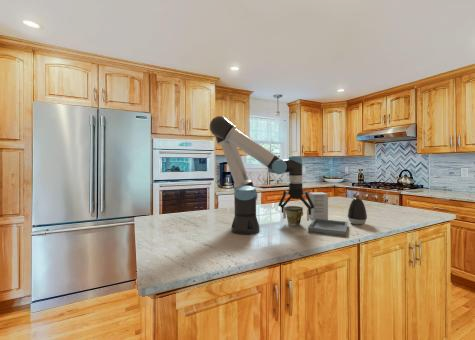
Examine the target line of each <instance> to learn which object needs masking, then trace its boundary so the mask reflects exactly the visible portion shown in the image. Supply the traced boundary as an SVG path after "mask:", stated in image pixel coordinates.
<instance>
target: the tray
mask: <svg viewBox="0 0 475 340" xmlns="http://www.w3.org/2000/svg"><path fill="white" fill-rule="evenodd" d="M347 231H348V221H345V220H344V221H342V220H333V219H328V220H323V219H314V220H311V223H310V225H308V227H307V232H308V233H312V234H318V235H319V234H321V235H328V236H337V237H347Z"/></svg>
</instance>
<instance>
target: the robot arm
mask: <svg viewBox="0 0 475 340" xmlns="http://www.w3.org/2000/svg"><path fill="white" fill-rule="evenodd" d="M209 131H210V132H211V134H212V135H213V136H214V137H215V140H216V142H217V145H218V146H221V149H222V152H223V155H224V158H225V160H226V163H227V166H228V168H229V171H230V174H231V177H232V180H233V182H234V186H233V189H234V192H233V196H234V198H233V199H234V216H233V220H232V223H231V229H230V230H231V232H232V233H235V234H239V235H252V234H257V233H259V232H260V231H261V230H260V229H261V228H260V224H259V221H258V217H257V201H258V192H257V188H256V187H255V186H254V183H253V180H251V179H249V176H248V174H247V171H246V169H245V168H246V167H245V166H244V162H243V160H242V157H241V154H240V152H239V149H240V150H241V151H243V152H245V153H246V154H247V155H248V156H250V157H252V158H253V159H254V160H256V161H258V162H259V163H260V164H262V165H264V166H265V167H266V168H267V171H268V173H269V174H276V175H282V174H284V173H286V174H287V173H288V191H287V190H283V193H282V194H283V195H282V197H281V199H280V201H279V203H278V207H280V208H281V213H282V215H283V217H282V218H283V220H285V219H286V218H287V214H286V209H285V207H286V205H287V204H288V203H289V201H291V199H292V200H300V201H301V202H302V203H303V204H304V206H305V207H306V208H307V209H306V220H307V221H308V222H309V221H310V218H309V215H311V209H312V208H314V205H313V203H312V201H311V199H310V197H309V191H308V190H307V191H303V157H302V156H300V155H290V156H288V159H281V158H280V157H279V156H277V155H275V154H274V153H273V152H271V151H269V150H268V149H266V148H265V147H263V146H262V145H261V144H259V143H258V142H257V141H255V140H253V139H252V138H250V137H249V136H247V135H246V134H244V132H241V131H240V130H238V129H237V126H236V125H234V124H233V123H232V122H231V121H230V120H229V119H227V118H226V117H225V116H222V115H217V116H215V117H213V118H212V119H211V120H210V123H209ZM287 195H289V196H288V198H287V199H286V196H287ZM303 195H304V196H305V197H306V199H305V198H304V196H303ZM307 201H308V202H307ZM309 203H310V205H311V206H310V205H309Z"/></svg>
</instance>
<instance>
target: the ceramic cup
mask: <svg viewBox="0 0 475 340" xmlns="http://www.w3.org/2000/svg"><path fill="white" fill-rule="evenodd" d="M284 207H285V209H286V218H287V224H288V225H289V226H293V227H297V226H300V224H301V219H302V217H303V216H304V212H303V211H304V207H303V206H298V205H297V206H296V205H288V206H284Z"/></svg>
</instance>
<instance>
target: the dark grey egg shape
mask: <svg viewBox="0 0 475 340" xmlns="http://www.w3.org/2000/svg"><path fill="white" fill-rule="evenodd" d="M367 213H368V212H367V210H366V206H365V203H364V201H363V199H361V198H360V197H355V198H353V199H352V200H351V202H350V203H349V208H348V211H347V218H348V221H349V223H351V225H352V224H353V225H359V226H362V225H363V224H365V223H366V222H367V219H368V214H367Z"/></svg>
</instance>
